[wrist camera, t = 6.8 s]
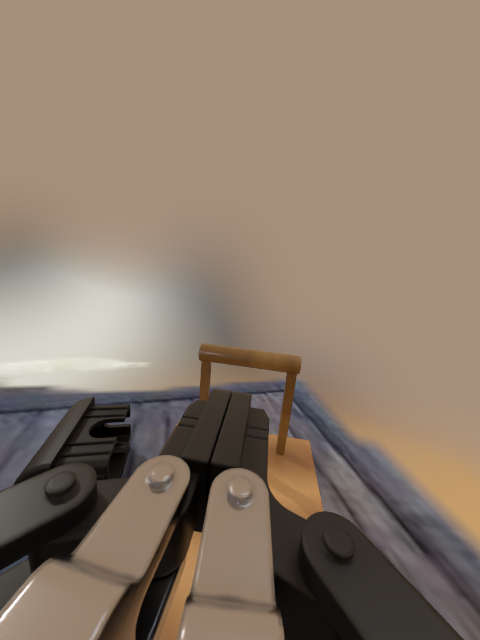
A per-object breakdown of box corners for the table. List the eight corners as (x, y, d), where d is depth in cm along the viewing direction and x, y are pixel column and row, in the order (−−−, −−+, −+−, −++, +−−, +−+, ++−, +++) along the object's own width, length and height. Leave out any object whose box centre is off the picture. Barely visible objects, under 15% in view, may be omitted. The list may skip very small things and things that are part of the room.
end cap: (69, 446, 30) (64, 397, 28) (131, 442, 32) (130, 395, 30) (15, 535, 21) (3, 469, 19) (108, 522, 22) (104, 460, 20)
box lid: (179, 425, 25) (183, 333, 22) (308, 447, 23) (325, 351, 21) (11, 721, 9) (-40, 510, 6) (380, 843, 7) (488, 633, 5)
